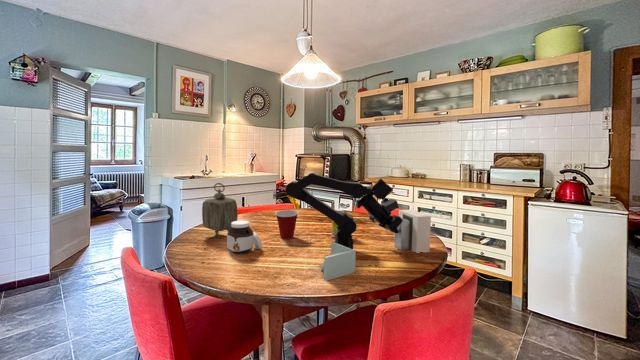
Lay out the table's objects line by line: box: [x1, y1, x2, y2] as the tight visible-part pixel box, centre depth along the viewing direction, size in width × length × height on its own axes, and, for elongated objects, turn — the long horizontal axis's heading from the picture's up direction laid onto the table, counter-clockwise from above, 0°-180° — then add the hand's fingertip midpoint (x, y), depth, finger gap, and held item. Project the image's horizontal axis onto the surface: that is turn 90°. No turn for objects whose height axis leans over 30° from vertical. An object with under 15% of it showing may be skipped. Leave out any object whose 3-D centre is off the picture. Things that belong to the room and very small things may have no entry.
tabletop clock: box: [201, 182, 239, 239], centre depth 137 cm, size 14×9×25 cm, turn 58°
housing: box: [398, 209, 432, 254], centre depth 125 cm, size 6×14×15 cm, turn 16°
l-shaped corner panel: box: [319, 241, 356, 281], centre depth 99 cm, size 12×12×8 cm
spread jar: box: [226, 220, 263, 255], centre depth 119 cm, size 12×11×12 cm
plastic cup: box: [274, 209, 300, 240], centre depth 137 cm, size 11×11×12 cm
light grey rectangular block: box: [393, 218, 411, 251], centre depth 124 cm, size 10×5×12 cm, turn 106°
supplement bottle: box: [331, 208, 345, 238], centre depth 140 cm, size 7×7×13 cm
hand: (397, 232), depth 123 cm, fingers closed, pressing on light grey rectangular block
